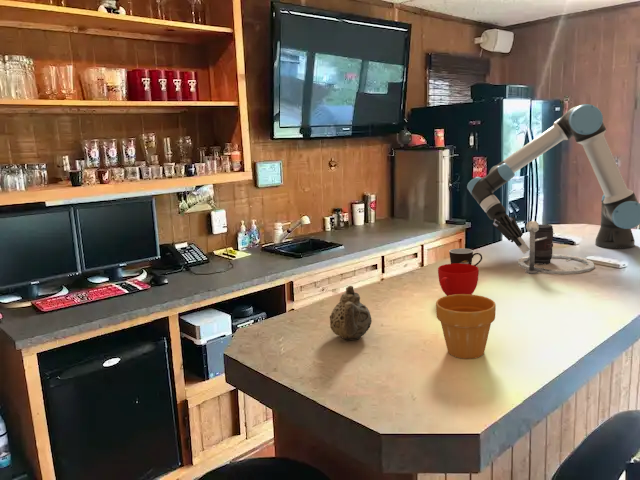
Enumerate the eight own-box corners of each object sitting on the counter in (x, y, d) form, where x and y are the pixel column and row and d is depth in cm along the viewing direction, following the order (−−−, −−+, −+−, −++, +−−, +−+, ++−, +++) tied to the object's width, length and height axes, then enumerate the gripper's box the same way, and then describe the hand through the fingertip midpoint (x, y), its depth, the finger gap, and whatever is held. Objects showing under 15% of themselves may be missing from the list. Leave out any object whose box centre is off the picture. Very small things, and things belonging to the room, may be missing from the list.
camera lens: (548, 259, 216) (549, 223, 213) (555, 264, 208) (556, 227, 205) (528, 260, 217) (528, 224, 214) (533, 265, 209) (534, 227, 206)
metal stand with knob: (533, 274, 196) (534, 222, 192) (522, 272, 199) (523, 221, 195) (550, 268, 202) (552, 218, 198) (540, 266, 206) (541, 217, 202)
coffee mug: (447, 279, 196) (447, 253, 194) (451, 273, 204) (451, 248, 202) (480, 280, 192) (480, 254, 190) (482, 274, 200) (482, 248, 198)
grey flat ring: (573, 255, 220) (573, 252, 220) (607, 271, 194) (608, 269, 194) (508, 258, 221) (508, 256, 221) (534, 275, 194) (534, 273, 194)
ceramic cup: (424, 302, 172) (424, 272, 170) (450, 289, 184) (450, 261, 182) (460, 309, 163) (460, 278, 161) (485, 295, 175) (485, 266, 173)
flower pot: (460, 368, 123) (460, 316, 121) (425, 348, 136) (424, 300, 134) (507, 355, 129) (508, 305, 126) (469, 337, 142) (469, 290, 139)
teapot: (330, 325, 156) (328, 276, 153) (369, 323, 156) (367, 274, 153) (330, 355, 135) (326, 299, 132) (375, 353, 135) (372, 297, 132)
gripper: (497, 211, 233) (530, 254, 223) (478, 215, 226) (511, 259, 216) (508, 200, 228) (542, 243, 218) (488, 204, 221) (523, 248, 210)
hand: (526, 251), depth 217 cm, fingers closed
